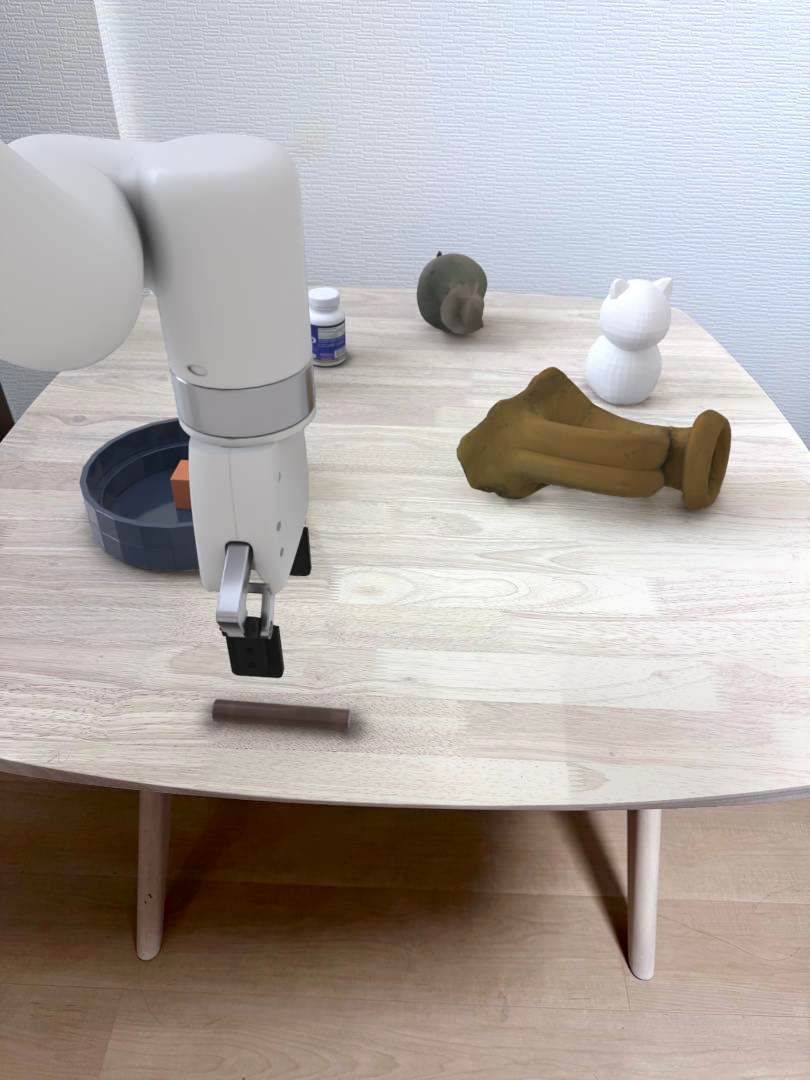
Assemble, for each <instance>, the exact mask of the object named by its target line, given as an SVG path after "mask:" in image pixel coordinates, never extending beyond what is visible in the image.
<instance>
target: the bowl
mask: <svg viewBox="0 0 810 1080" xmlns="http://www.w3.org/2000/svg"><path fill="white" fill-rule="evenodd" d="M190 437H191V436H190V435H188V434H187V433H186V432H185V431H184V430H183V428H182V427H181V425H180V422H179V417H172V418H169V419H163V420H157V421H152V422H149V423H147V424H144V425H141V426H138V427H135V428H132V429H129V430H127V431H125V432H123V433H121V434H119V435H117V436H116V437H114V438H111V439H109V440H108V441H107V442H105V443H104V444H103V445H102V446H100V447H99V448H98V449H96V450H95V451H94V452H93V453H91V455H90V456H89V458H88V459H87V461H86V462H85V464H84V465H83V467H82V469H81V474H80V478H79V481H78V483H79V484H78V485H79V487H80V491H81V495H82V499H83V503H84V507H85V511H86V514H87V518H88V521H89V525H90V529H91V532H92V535H93V536H92V537H93V539H94V541H95V542H96V543H97V544H98V545H99V546H100V547H101V549H102V550H103V551H104V552H105V553H106V554H108V555H109V556H111V557H113V558H115V559H117V560H118V561H121V562H122V563H124V564H127V565H130V566H134V567H138V568H142V569H145V570H151V571H163V572H164V571H166V572H185V571H186V572H187V571H197V570H200V569H199V562H198V555H197V548H196V540H195V533H194V525H193V516H192V510H191V509H176V507H175V502H174V496H173V491H172V486H171V480H170V479H171V477H172V475H173V473H174V472H175V470H176V468H177V466H178V464H179V463H180V461H181V460H189V441H190Z"/></svg>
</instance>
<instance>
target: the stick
mask: <svg viewBox="0 0 810 1080" xmlns="http://www.w3.org/2000/svg"><path fill="white" fill-rule="evenodd" d="M351 714H352V712H351V709H350V708H338V707H325V706H313V705H299V704H289V703H288V704H286V703H274V702H261V701H247V700H233V699H223V698H216V699H215V700H214V702H213V704H212V709H211V718H212V721H213V722H222V723H232V724H245V725H246V724H247V725H249V724H250V725H259V726H270V727H271V726H274V727H285V728H298V729H311V730H322V731H323V730H324V731H333V732H334V731H337V732H349V730H350V727H351V717H352V715H351Z"/></svg>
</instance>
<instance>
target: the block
mask: <svg viewBox="0 0 810 1080" xmlns="http://www.w3.org/2000/svg"><path fill="white" fill-rule="evenodd" d="M170 480H171V486H172V491H173V496H174V502H175V507H176V509H191V510H192V507H191V496H190V483H189V460H181V461H180V463H179V464H178V466H177V468H176V470H175V472H174V473H173V475H172V477H171V479H170Z"/></svg>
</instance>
